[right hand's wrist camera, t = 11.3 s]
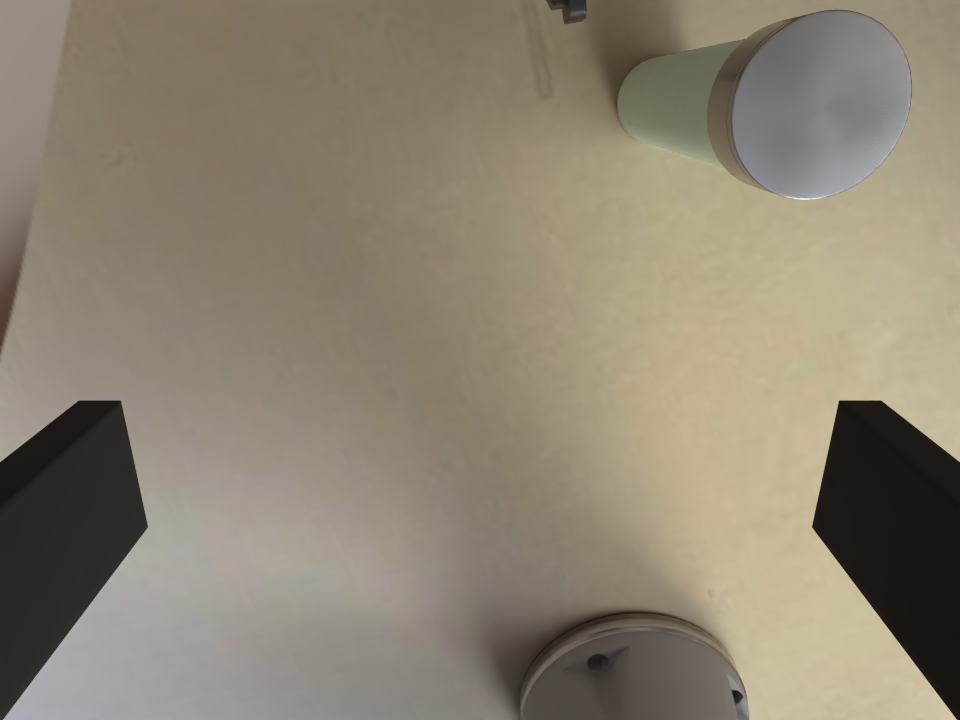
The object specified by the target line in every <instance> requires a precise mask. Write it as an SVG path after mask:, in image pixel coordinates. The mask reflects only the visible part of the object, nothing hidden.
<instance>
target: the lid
mask: <svg viewBox="0 0 960 720" xmlns="http://www.w3.org/2000/svg"><path fill="white" fill-rule="evenodd" d="M911 96H912V81H911V73H910V68H909V64H908V60H907V58H906V55H905V53H904V51H903V49H902V47H901V45H900V44H899V42H898V40H897V39H896V38H895V37H894V35H893V34H892V33H891V32H890V31H889V30H888V29H887V28H886V27H884V26H883V25H882V24H881V23H879V22H878V21H876V20H874V19H873V18H871V17H869V16H866V15H864V14H861V13H857V12H853V11H848V10H828V11H821V12H816V13H812V14H808V15H804V16H800V17H795V18H791V19H787V20H783V21H779V22H776V23H773V24H771V25H768V26H766V27H764V28H762V29H760V30H758V31H756V32H755V33H753V34H752V35H751V36H749V37H748V38H746V39H745V40H744V41H743V42H742V43H741V44H740V45H738V46H737V48H736V49H735V50H734V51H733V52H732V53H731V54H730V55H729V57H728V58H727V60H726V61H725V62H724V64H723V65H722V67H721V69H720V71H719V72H718V74H717V76H716V79H715V81H714V83H713V86H712V89H711V92H710V96H709V101H708V107H707V128H708V134H709V139H710V142H711V145H712V148H713V151H714V152H715V154H716V156H717V158H718V160H719V161H720V162H721V164H722V165H723V166H724V168H725V169H726V170H727V171H728V172H729V173H730V174H731V175H733V176H734V177H736V178H737V179H738V180H740V181H742V182H744V183H746V184H748V185H751V186H753V187H756V188H759V189H762V190H765V191H768V192H771V193H774V194H777V195H780V196H783V197H787V198H792V199H801V200H810V199H819V198H824V197H829V196H832V195H835V194H838V193H840V192H843V191H845V190H847V189H849V188H851V187H853V186H854V185H856V184H857V183H859V182H861V181H862V180H863V179H865V178H866V177H867V176H868V175H870V174H871V173H872V172H873V171H874V170H875V169H876V168H877V167H878V166H879V165H880V164H881V163H882V162H883V161H884V160H885V158H886V157H887V156H888V155H889V153H890V152H891V150H892V149H893V147H894V146H895V144H896V143H897V141H898V139H899V137H900V135H901V133H902V131H903V128H904V126H905V123H906V121H907V117H908V113H909V109H910V103H911Z"/></svg>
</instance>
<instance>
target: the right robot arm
mask: <svg viewBox="0 0 960 720" xmlns="http://www.w3.org/2000/svg"><path fill="white" fill-rule="evenodd" d="M147 528H148V525H147V520H146V516H145V511H144V506H143V502H142V497H141V492H140V488H139V483H138V478H137V474H136V469H135V464H134V460H133V455H132V450H131V446H130V441H129V436H128V432H127V427H126V422H125V418H124V413H123V408H122V404H121V401H78V402H77V403H75V404H74V405H73V406H71V407H70V408H69V409H68V410H66V411H65V412H64V413H62V414H61V415H60V416H59V417H57V418H56V419H55V420H54V421H52V422H51V423H50V424H48V425H47V426H46V427H45V428H43V429H42V430H41V431H40V432H38V433H37V434H36V435H34V436H33V437H32V438H31V439H29V440H28V441H27V442H25V443H24V444H23V445H22V446H20V447H19V448H18V449H17V450H15V451H14V452H13V453H11V454H10V455H9V456H8V457H6V458H5V459H4V460H2V461H1V462H0V720H3V719H4V717H5V716H6V715H7V713H8V712H9V711H10V710H11V708H12V707H13V706H14V704H15V703H16V702H17V700H18V699H19V698H20V696H21V695H22V694H23V692H24V691H25V690H26V688H27V687H28V686H29V684H30V683H31V682H32V680H33V679H34V678H35V676H36V675H37V674H38V672H39V671H40V670H41V668H42V667H43V666H44V664H45V663H46V662H47V660H48V659H49V658H50V656H51V655H52V654H53V652H54V651H55V650H56V648H57V647H58V646H59V644H60V643H61V642H62V641H63V639H64V638H65V637H66V635H67V634H68V633H69V631H70V630H71V629H72V627H73V626H74V625H75V623H76V622H77V621H78V619H79V618H80V617H81V615H82V614H83V613H84V611H85V610H86V609H87V607H88V606H89V605H90V603H91V602H92V601H93V599H94V598H95V597H96V595H97V594H98V593H99V591H100V590H101V589H102V587H103V586H104V585H105V583H106V582H107V581H108V579H109V578H110V577H111V575H112V574H113V573H114V572H115V570H116V569H117V568H118V566H119V565H120V564H121V562H122V561H123V560H124V558H125V557H126V556H127V554H128V553H129V552H130V550H131V549H132V548H133V546H134V545H135V544H136V542H137V541H138V540H139V538H140V537H141V536H142V534H143V533H144V532H145V530H146V529H147ZM812 528H813V529H814V530H815V532H816V533H817V534H818V536H819V537H820V538H821V540H822V541H823V542H824V544H825V545H826V546H827V548H828V549H829V550H830V552H831V553H832V554H833V556H834V557H835V558H836V560H837V561H838V562H839V564H840V565H841V566H842V568H843V569H844V570H845V572H846V573H847V574H848V575H849V577H850V578H851V579H852V581H853V582H854V583H855V585H856V586H857V587H858V589H859V590H860V591H861V593H862V594H863V595H864V597H865V598H866V599H867V601H868V602H869V603H870V605H871V606H872V607H873V609H874V610H875V611H876V613H877V614H878V615H879V617H880V618H881V619H882V621H883V622H884V623H885V625H886V626H887V627H888V629H889V630H890V631H891V633H892V634H893V635H894V637H895V638H896V639H897V641H898V642H899V643H900V644H901V646H902V647H903V648H904V650H905V651H906V652H907V654H908V655H909V656H910V658H911V659H912V660H913V662H914V663H915V664H916V666H917V667H918V668H919V670H920V671H921V672H922V674H923V675H924V676H925V678H926V679H927V680H928V682H929V683H930V684H931V686H932V687H933V688H934V690H935V691H936V692H937V694H938V695H939V696H940V698H941V699H942V700H943V702H944V703H945V704H946V706H947V707H948V708H949V710H950V711H951V712H952V713H953V715H954V716H955V717H956V719H957V720H960V462H959V461H958V460H956V459H955V458H954V457H952V456H951V455H950V454H949V453H947V452H946V451H945V450H943V449H942V448H941V447H940V446H938V445H937V444H936V443H935V442H933V441H932V440H931V439H929V438H928V437H927V436H926V435H924V434H923V433H922V432H920V431H919V430H918V429H917V428H915V427H914V426H913V425H912V424H910V423H909V422H908V421H906V420H905V419H904V418H903V417H901V416H900V415H899V414H898V413H896V412H895V411H894V410H892V409H891V408H890V407H889V406H887V405H886V404H885V403H883V402H882V401H839V404H838V408H837V413H836V418H835V422H834V427H833V432H832V436H831V441H830V446H829V450H828V455H827V460H826V464H825V469H824V474H823V478H822V483H821V488H820V492H819V497H818V502H817V506H816V511H815V516H814V520H813V525H812ZM520 715H521V720H749V708H748V702H747V696H746V691H745V688H744V685H743V683H742V680H741V678H740V676H739V674H738V671H737V669H736V667H735V665H734V663H733V661H732V659H731V657H730V655H729V654H728V653H727V651H726V650H725V648H724V647H723V646H722V645H721V644H720V643H719V642H718V641H717V640H716V639H714V638H713V637H712V636H711V635H709V634H708V633H706V632H705V631H704V630H702V629H700V628H698V627H696V626H694V625H692V624H690V623H688V622H685V621H682V620H679V619H676V618H672V617H668V616H663V615H656V614H644V613H633V614H620V615H614V616H608V617H604V618H600V619H596V620H593V621H590V622H587V623H585V624H582V625H580V626H578V627H576V628H574V629H572V630H570V631H568V632H566V633H565V634H563V635H562V636H560V637H559V638H557V639H556V640H554V641H553V642H552V643H551V644H549V645H548V646H547V647H546V648H545V649H544V650H543V651H542V652H541V653H540V654H539V656H538V657H537V658H536V659H535V661H534V662H533V663H532V665H531V666H530V668H529V670H528V672H527V674H526V676H525V679H524V681H523V684H522V688H521V694H520Z"/></svg>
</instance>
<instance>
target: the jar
mask: <svg viewBox="0 0 960 720" xmlns="http://www.w3.org/2000/svg"><path fill="white" fill-rule="evenodd" d="M744 40H745V39H743V40H738V41H733V42H728V43H723V44H718V45H714V46H709V47H704V48H699V49H694V50H689V51H684V52H679V53H675V54H670V55H665V56H660V57H655V58H651V59H648V60H646V61H644V62H642V63H640V64H639V65H637V66H636V67H635V68H634V69H632V70H631V71H630V73H629V74H628V75H627V76H626V78H625V79H624V81H623V83H622V85H621V88H620V90H619V94H618V100H617V110H618V116H619V119H620V122H621V124H622V126H623V128H624V129H625V130H626V132H627V133H628V134H629V135H630V136H631V137H633V138H634V139H635V140H637V141H639V142H642V143H645V144H648V145H651V146H654V147H658V148H661V149H664V150H668V151H671V152H674V153H678V154H681V155H684V156H688V157H691V158H694V159H697V160H701V161H704V162H707V163H711V164H714V165H717V166H721V167H724V166H723V165H722V164H721V162H720V161H719V160H718V158H717V156H716V154H715V152H714V151H713V148H712V145H711V142H710V139H709V134H708V128H707V107H708V101H709V96H710V92H711V89H712V86H713V83H714V81H715V79H716V76H717V74H718V72H719V71H720V69H721V67H722V65H723V64H724V62H725V61H726V60H727V58H728V57H729V55H730V54H731V53H732V52H733V51H734V50H735V49H736V48H737V46H738V45H740V44H741V43H742V42H743V41H744Z"/></svg>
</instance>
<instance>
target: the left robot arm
mask: <svg viewBox="0 0 960 720" xmlns="http://www.w3.org/2000/svg"><path fill="white" fill-rule="evenodd" d="M546 1H547V3H548V5H549V7H550V9H551V10H555V9H561V8H562V10H563V19H564V23H565V24H569V23H575V22H581V21H583V20H584V19H586V13H587V9H586V0H546Z"/></svg>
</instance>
